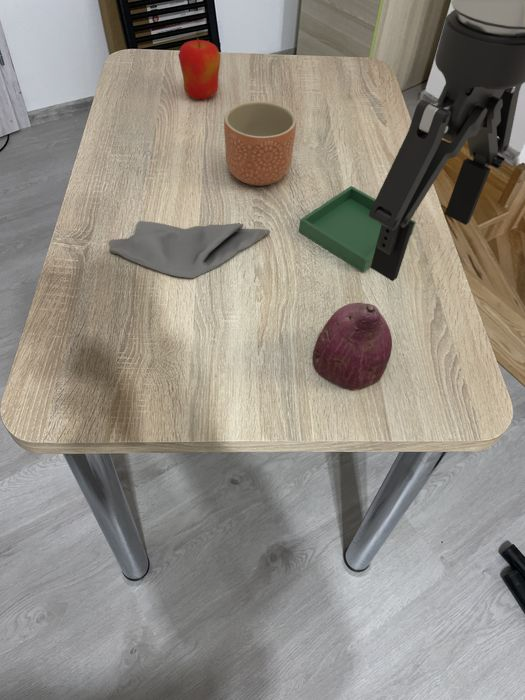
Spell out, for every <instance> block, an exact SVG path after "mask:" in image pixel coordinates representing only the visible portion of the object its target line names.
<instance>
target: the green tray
mask: <svg viewBox="0 0 525 700" xmlns="http://www.w3.org/2000/svg"><path fill="white" fill-rule="evenodd" d="M375 200H376V198H375V197H372V196H371V195H369V194H367V193H365V192H364V191H362V190H360V189H358V188H356V187H354V186H353V185H350V186H349V187H347V188H345V189H344V190H343V191H341V192H340V193H338V194H336V195H335V196H334V197H332V198H331V199H329V200H327V201H326V202H325V203H322V204H321V205H320V206H318V207H317V208H315V209H314V210H312V211H311V212H308V213H307V214H306V215H305V216H303V217H301V218H300V219H299V227H298V233H300V234H302V235H303V236H305V237H306V238H307V239H309V240H311V241H312V242H314V243H315V244H317V245H319V246H320V247H322V248H324V249H325V250H327V251H328V252H330V253H332V254H333V255H334V256H336V257H338V258H339V259H341V260H342V261H344V262H346V263H347V264H349V265H350V266H352V267H353V268H355V269H356V270H358V271H359V272H361V273H365V272H366V271H367V270H369V269H371V264H372V260H373V256H374V252H375V249H376V245H377V241H378V237H379V233H380V229H381V225H382V224H381V223H379V222H377V221H375V220H374V219H372V218H370V217H369V213H370V210H371V208H372V206H373V204H374V202H375ZM410 221H412V222H414V225H413V228H412V231H411V235H412V234H413V232H414V230H415V226H416V223H417V221H415V220H413V219H412V218H411V219H410Z"/></svg>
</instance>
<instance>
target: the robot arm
mask: <svg viewBox="0 0 525 700" xmlns="http://www.w3.org/2000/svg"><path fill="white" fill-rule="evenodd" d="M450 3H451V5H452V8H453V10H452V11H451V12H450V13H449V14H447V15H446V17H445V19H444V23H443V27H442V30H441V35H440V38H439V41H438V46H437V50H436V53H435V57H434V58H435V59H434V62H435V67H436V68H437V69H438V71H439V72H441V74H442V77H444V80H445V81H444V82H445V84H444V86H443V88H442V91H441V93H440V95H439V97H438V99H437V101H436V102H435V103H432V102H429V101H427V100H425V99H421V100H420V101H419V102H418V103H417V105H416V107H415V109H414V112H413V115H412V119H411V122H410V125H409V129H408V131H407V133H406V135H405V137H404V139H403V142H402V144H401V146H400V148H399V150H398V152H397V154H396V155H395V158H394V160H393V161H392V165H391V167H390V169H389V171H388V173H387V174H386V176H385V179H384V181H383V183H382V185H381V187H380V189H379V192H378V194H377V196H376V198H375V199H376V200H375V202H374V204H373V206H372V208H371V210H370V213H369V217H370V218H372V219H374V220H375V221H377V222H379V223H381V224H382V225H381V229H380V233H379V237H378V241H377V245H376V249H375V252H374V256H373V260H372V264H371V267H370V269H372V270H373V271H375V272H376V273H379V274H380V275H381V276H383V277H385V278H387V279H388V280H390V281H391V282H394V281H395V280H396V279H398V276H399V273H400V270H401V267H402V263H403V260H404V258H405V254H406V251H407V248H408V244H409V241H410V238H411V236H412V234H411V231H412V228H413V225H414V222H412V221H410V219H412V218H413V216H414V215H415V213H416V212H417V210H418V209H419V207H420V205H421V203H422V202H423V200H424V199H425V197H426V195H427V194H428V193H429V191H430V189H431V188H432V186H433V185H434V183H435V181H436V180H437V178H438V177H439V175H440V173H441V172H442V170H443V168H444V167H445V165H446V164H447V162H448V161H449V160H450V159H455V158H456V157H457V156H458V155H459V154H460V152H461V151H462V149H463V148H464V146H465V144H466V142H467V146H468V150H469V151H468V152H469V156H470V158H472V159H470V158H466V159H464V160H463V161H462V164H461V167H460V170H459V172H458V176H457V178H456V181H455V184H454V186H453V189H452V193H451V195H450V198H449V200H448V203H447V206H446V209H445V212H444V215H446V216H448V217H449V218H452V219H453V220H454V221H457V222H458V223H460V224H463V225H465V226H466V225H469V223H470V221H471V218H472V216H473V214H474V211H475V209H476V207H477V204H478V201H479V199H480V197H481V194H482V192H483V189H484V187H485V184H486V182H487V179H488V177H489V174H490V172H491V168H490V167H493V168H494V169H497V170H499V169H500V168H502V166H503V165H504V163H505V160H506V157H504V156H501V155H503V154H505V153H506V152H507V151H508V149H509V146H510V141H511V136H512V132H513V126H514V122H515V115H516V110H517V105H518V100H519V95H520V91H521V87H522V86H523V85H524V84H525V0H451V1H450ZM500 154H501V155H500Z"/></svg>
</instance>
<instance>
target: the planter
mask: <svg viewBox="0 0 525 700" xmlns="http://www.w3.org/2000/svg"><path fill="white" fill-rule="evenodd" d="M296 130H297V119H296V116H295V114H294V113H293V112H292V111H291V110H290V109H289V108H288V107H287V106H284V105H283V104H280V103H277V102H273V101H267V100H248V101H243V102H240V103H237V104H234V105H232V106H231V107H229V109H227V111H226V112H225V114H224V118H223V134H224V147H225V149H224V150H225V160H226V164H227V167H228V170H229V172H230V173H231V174H232V175H233V176H234V177H235V178H236V179H237V180H239V181H241V182H242V183H245V184H247V185H250V186H257V187H258V186H259V187H263V186H268V185H272V184H274V183H276V182H278V181H279V180H282V179H283V178H284V176H286V174H287V173H288V171H289V169H290V167H291V165H292V164H291V163H292V159H293V152H294V145H295V138H296Z"/></svg>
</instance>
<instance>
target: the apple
mask: <svg viewBox="0 0 525 700" xmlns="http://www.w3.org/2000/svg"><path fill="white" fill-rule="evenodd" d="M178 60H179V65H180V69H181V73H182V78H183V79H182V80H183V88H184V91H185V93H186V94H187V95H188V96H189V97H190V98H192V99H194V100H206V99H209V98H211V97H213V95H215V94H216V92H218V90H219V89H218V88H219V73H220V65H221V53H220V51H219V48H218V47H217V46H216V44H214V43H213V42H210V41H207V40H204V39H199V37H197V38H196V39H194V40H193V39H192V40H190V41H186V42H184V43H183V44H182V45H181V46H180V50H179V52H178Z"/></svg>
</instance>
